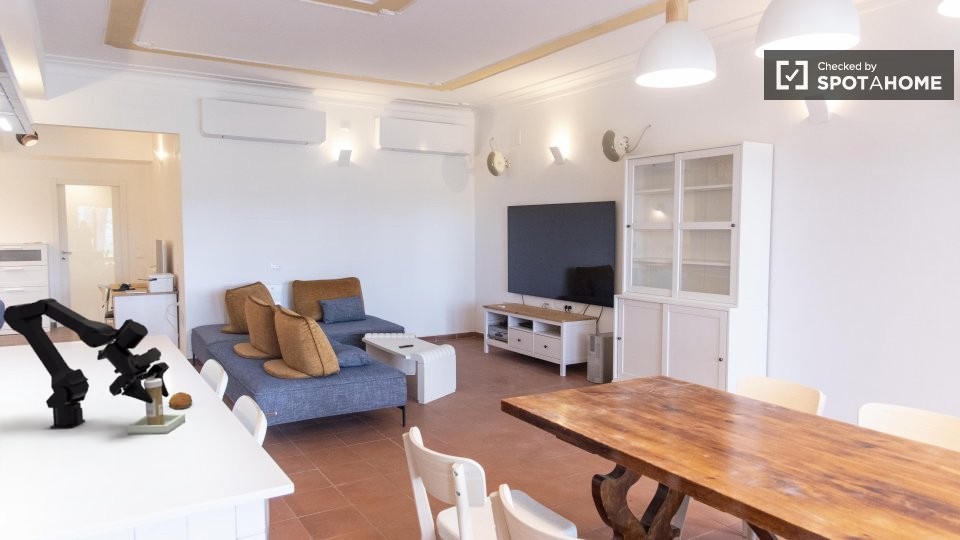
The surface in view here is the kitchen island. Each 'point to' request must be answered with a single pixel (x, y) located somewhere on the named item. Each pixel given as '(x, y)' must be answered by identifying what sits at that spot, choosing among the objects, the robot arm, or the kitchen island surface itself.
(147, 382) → the sprinkles bottle
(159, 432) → the tray
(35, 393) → the kitchen island surface
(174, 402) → the pastry
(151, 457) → the kitchen island surface
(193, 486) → the kitchen island surface
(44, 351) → the robot arm
